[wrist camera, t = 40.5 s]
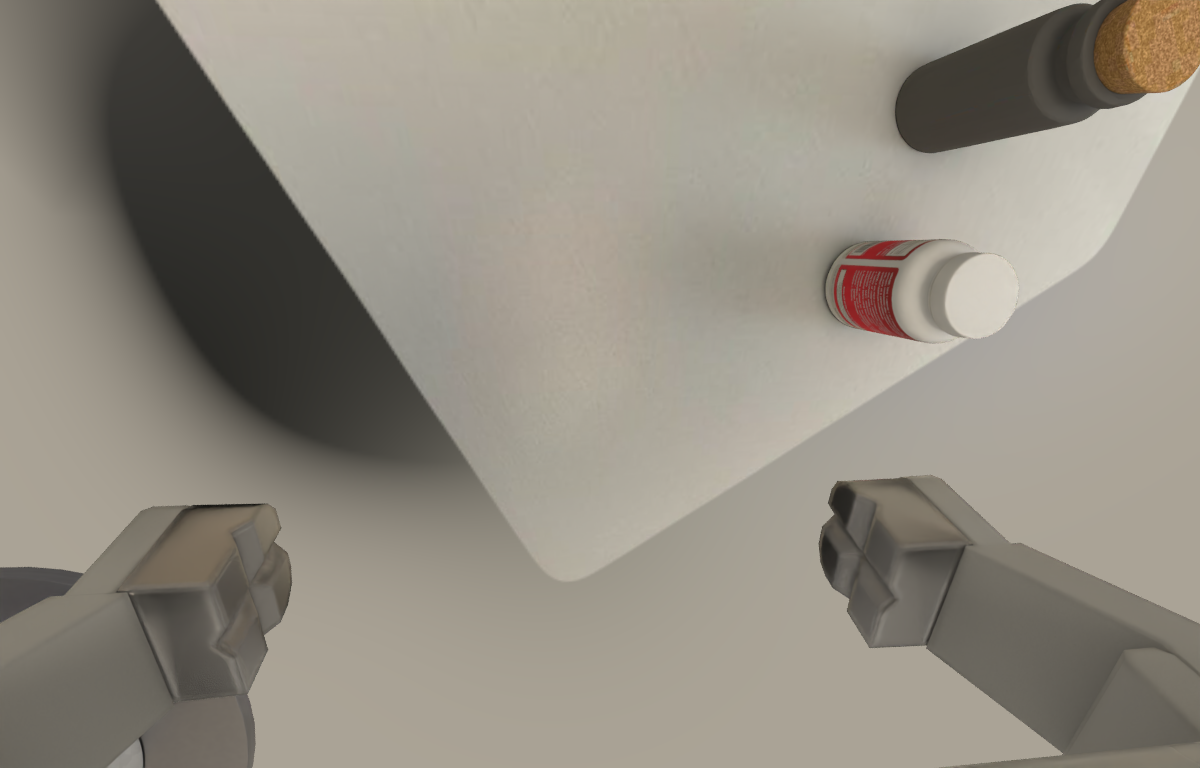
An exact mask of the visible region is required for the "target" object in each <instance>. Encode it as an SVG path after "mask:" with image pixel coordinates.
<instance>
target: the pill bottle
mask: <svg viewBox="0 0 1200 768" xmlns="http://www.w3.org/2000/svg"><path fill="white" fill-rule="evenodd" d="M1018 293H1019V284H1018V279H1017V275H1016V273H1015V270H1014V268H1013V267H1012V265H1011V264H1010V263H1009V262H1008V261H1007V260H1006V259H1005V258H1003V257H1001V256H999V255H996V254H992V253H979V252H977V251H976V250H975V249H974V248H973V247H971V246H970V245H968V244H966V243H964V242H961V241H957V240H947V239H938V240H904V241H870V242H862V243H858V244H856V245H854V246H851V247H850V248H848V249H847V250H845V251H844V252H843V253H842V254H841V255H840V256H839V257H838V258H837V259H836V260H835V262H834V263H833V265H832V267H831V269H830V271H829V274H828V277H827V281H826V298H827V302H828V305H829V308H830V309H831V311H832V313H833V314H834V316H835V317H836V318H837V319H838V320H839V321H841V322H842V323H844V324H846V325H848V326H850V327H853V328H857V329H862V330H867V331H871V332H876V333H881V334H886V335H891V336H896V337H901V338H905V339H910V340H915V341H920V342H925V343H944V342H948V341H952V340H954V339H957V338H959V337H963V338H972V339H978V338H984V337H987V336H990V335H992V334H994V333H995V332H997V331H998V330H1000V329H1001V328H1002V327H1003V326H1004V325H1005V324H1006V323H1007V321H1008V320H1009V318H1010V317H1011V315H1012V314H1013V312H1014V309H1015V307H1016V304H1017V300H1018Z"/></svg>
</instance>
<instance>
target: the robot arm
mask: <svg viewBox="0 0 1200 768" xmlns="http://www.w3.org/2000/svg"><path fill="white" fill-rule="evenodd" d="M828 504H829V506H830V507H831V509H832V511H833V512H834V515H833V516H832V517H831V518H830V519H829V520H828V521H827V523H825V524H824V525H823V526H822V530H821V535H820V541H819V552H820V562H821V565H822V568H823V571H824V573H825V576H826V578H827V579H828V581H829V582H830V584H831V586H832V587H833V588H834V589H835V590H837V591H838V592H840V593H841V594H843V595H845V596H846V597H848V598H849V604H848V608H847V612H848V614H849V615H850V617H851V619H852V620H853V622H854V623H855V625H856V627H857V628H858V630H859V632H860V633H861V635H862V636H863V638H864V640H865V641H866V643H867V644H868V646H869V648H880V647H901V646H924V645H927V649H928V650H929V651H930V652H932V653H933V654H934V655H936V656H937V657H938V658H940V659H941V660H942V661H943V662H945V663H946V664H948V665H949V666H950V667H952V668H953V669H954V670H955V671H957V672H958V673H959V674H961V675H962V676H963V677H964V678H966V679H967V680H968V681H970V682H971V683H972V684H974V685H975V686H976V687H977V688H979V689H980V690H981V691H983V692H984V693H985V694H987V695H988V696H989V697H990V698H992V699H993V700H994V701H996V702H997V703H999V704H1000V705H1001V706H1002V707H1004V708H1005V709H1006V710H1007V711H1009V712H1010V713H1011V714H1013V715H1014V716H1015V717H1017V718H1018V719H1019V720H1021V721H1022V722H1023V723H1025V724H1026V725H1027V726H1028V727H1030V728H1031V729H1032V730H1034V731H1035V732H1036V733H1037V734H1039V735H1040V736H1041V737H1043V738H1044V739H1046V740H1047V741H1048V742H1049V743H1051V744H1052V745H1053V746H1055V747H1056V748H1057V749H1058V750H1060V751H1061V752H1062V753H1063V754H1062V755H1061V756H1051V757H1041V758H1031V759H1021V760H1011V761H1001V762H991V763H981V764H971V765H961V766H952V767H941V768H1200V624H1199V623H1197V622H1194V621H1192V620H1190V619H1188V618H1186V617H1183V616H1181V615H1179V614H1177V613H1174V612H1172V611H1170V610H1168V609H1166V608H1163V607H1161V606H1159V605H1156V604H1154V603H1152V602H1150V601H1148V600H1146V599H1143V598H1141V597H1139V596H1137V595H1135V594H1132V593H1130V592H1128V591H1126V590H1123V589H1121V588H1119V587H1117V586H1115V585H1112V584H1110V583H1108V582H1106V581H1103V580H1101V579H1099V578H1097V577H1095V576H1092V575H1090V574H1088V573H1086V572H1084V571H1081V570H1079V569H1077V568H1075V567H1072V566H1070V565H1068V564H1066V563H1064V562H1061V561H1059V560H1057V559H1055V558H1053V557H1050V556H1048V555H1046V554H1044V553H1041V552H1039V551H1037V550H1035V549H1033V548H1030V547H1028V546H1026V545H1024V544H1022V543H1013V544H1011V543H1009V542H1008V541H1007V540H1006V539H1005V538H1004V537H1003V536H1002V535H1001V534H1000V533H999V532H998V531H997V530H996V529H995V528H994V527H992V526H991V525H990V524H989V523H988V522H987V521H986V520H985V519H984V518H983V517H982V516H981V515H980V514H979V513H977V512H976V511H975V510H974V509H973V508H972V507H971V506H970V505H969V504H968V503H967V502H966V501H965V500H964V499H962V498H961V497H960V496H959V495H958V494H957V493H956V492H955V491H954V490H953V489H952V488H951V487H950V486H949V485H948V484H946V483H945V482H944V481H943V480H942V479H940V478H938V477H935V476H933V475H924V476H909V477H900V478H895V479H874V480H853V481H837V483H836V484H835V486H834V487H833V488H832V490H831V494H830V498H829V501H828ZM280 529H281V525H280V522H279V518H278V515H277V512H276V509H275V508H274V507H272V506H271V505H269V504H231V505H230V504H228V505H227V504H225V505H192V506H186V505H185V506H158V507H151V508H148V509H145V510H143V511H141V512H140V513H139V514H138V515H137V516H136V517H135V518H134V519H133V521H132V522H131V523H130V524H129V525H128V526H127V527H126V528H125V529H124V530H123V532H122V533H121V534H120V535H119V536H118V537H117V538H116V539H115V540H114V541H113V542H112V544H111V545H110V546H109V547H108V548H107V549H106V550H105V551H104V552H103V553H102V555H101V556H100V557H99V558H98V559H97V560H96V561H95V562H94V564H92V566H91V567H90V568H89V569H88V570H87V571H86V572H85V573H84V574H83V575H82V577H81V578H80V579H79V580H78V581H77V582H76V583H75V584H74V585H73V586H72V588H71V589H70V590H69V591H68V592H67V593H66V594H65V595H64V596H52V597H48V598H46V599H44V600H42V601H41V602H39V603H37V604H35V605H33V606H31V607H29V608H27V609H25V610H24V611H22V612H20V613H18V614H16V615H14V616H12V617H10V618H8V619H7V620H5V621H3V622H1V623H0V768H143V753H142V748H141V744H140V741H139V737H141V736H142V735H143V734H144V733H145V732H146V731H147V730H148V729H149V728H150V727H151V726H153V725H154V724H155V723H156V722H157V721H158V720H159V719H160V718H161V717H162V716H164V715H165V714H166V713H167V712H168V711H169V710H170V709H171V708H172V707H173V706H174V702H177V701H187V700H197V699H207V698H216V697H226V696H236V695H246V694H248V692H249V690H250V688H251V686H252V683H253V681H254V679H255V677H256V675H257V673H258V670H259V668H260V666H261V664H262V662H263V659H264V657H265V655H266V653H267V651H268V648H267V644H266V641H265V637H264V635H265V634H266V633H267V632H268V631H270V630H271V629H272V628H274V627H275V626H276V625H277V624H279V623H280V622H281V620H282V617H283V615H284V613H285V610H286V608H287V606H288V602H289V596H290V591H291V585H292V577H291V564H290V560H289V556H288V553H287V552H286V551H285V550H283V549H282V548H281V547H280V546H278V545H277V544H276V543H275V542H274V541H275V539H276V537H277V535H278V533H279V531H280Z"/></svg>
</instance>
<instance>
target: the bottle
mask: <svg viewBox="0 0 1200 768" xmlns="http://www.w3.org/2000/svg"><path fill="white" fill-rule="evenodd" d="M1199 64H1200V0H1101V1H1099V2H1097V3H1096V4H1094V5H1091V4H1073V5H1069V6H1066V7H1063V8H1060V9H1058V10H1055V11H1053V12H1050V13H1048V14H1045V15H1043V16H1041V17H1038V18H1036V19H1033V20H1031V21H1028V22H1026V23H1023V24H1021V25H1018V26H1016V27H1013V28H1011V29H1009V30H1006V31H1004V32H1001V33H999V34H997V35H994V36H992V37H989V38H987V39H985V40H982V41H980V42H978V43H975V44H973V45H970V46H968V47H966V48H963V49H961V50H959V51H956V52H954V53H951V54H949V55H947V56H944V57H942V58H940V59H937V60H935V61H932V62H930V63H928V64H926V65H924V66H922V67H920V68H919V69H917V70H916V71H915V72H913V73H912V74H911V75H910V76H909V77H908V79H907V80H906V81H905V83H904V84H903V86H902V88H901V91H900V93H899V96H898V100H897V106H896V120H897V124H898V129H899V131H900V133H901V135H902V137H903V138H904V140H905V141H906V142H907V143H908V144H909V145H910V146H911V147H913V148H914V149H916V150H918V151H921V152H925V153H934V152H941V151H946V150H951V149H957V148H962V147H967V146H972V145H976V144H981V143H986V142H991V141H995V140H1000V139H1005V138H1010V137H1014V136H1019V135H1024V134H1028V133H1033V132H1038V131H1043V130H1047V129H1052V128H1057V127H1061V126H1065V125H1069V124H1074V123H1077V122H1080V121H1082V120H1085V119H1087V118H1089V117H1090V116H1092V115H1093V114H1094V113H1096V112H1097V111H1098V110H1099V109H1110V108H1115V107H1119V106H1123V105H1127V104H1130V103H1132V102H1135V101H1137V100H1139V99H1140V98H1142V97H1143V96H1144V95H1146V94H1147V93H1161V92H1167V91H1170V90H1172V89H1174V88H1176V87H1178V86H1180V85H1181V84H1182V83H1184V82H1185V81H1186V80H1187V79H1189V77H1190V76H1191V75H1192V74H1193V73H1194V72H1195V70H1196V69H1197V68H1198V66H1199Z"/></svg>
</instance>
